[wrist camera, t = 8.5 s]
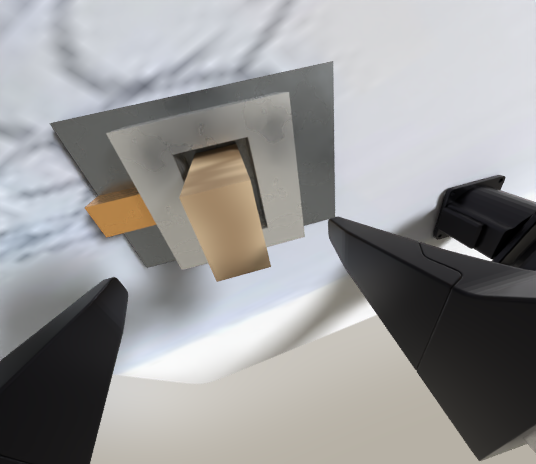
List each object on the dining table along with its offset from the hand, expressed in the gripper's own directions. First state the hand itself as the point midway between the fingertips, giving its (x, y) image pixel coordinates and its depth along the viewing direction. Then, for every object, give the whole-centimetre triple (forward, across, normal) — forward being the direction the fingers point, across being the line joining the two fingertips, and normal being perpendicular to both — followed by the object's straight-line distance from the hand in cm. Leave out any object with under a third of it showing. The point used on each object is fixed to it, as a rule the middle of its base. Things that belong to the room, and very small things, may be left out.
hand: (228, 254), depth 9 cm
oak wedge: (+9, 0, 0) cm, 9 cm away
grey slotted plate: (+10, 0, 0) cm, 10 cm away
